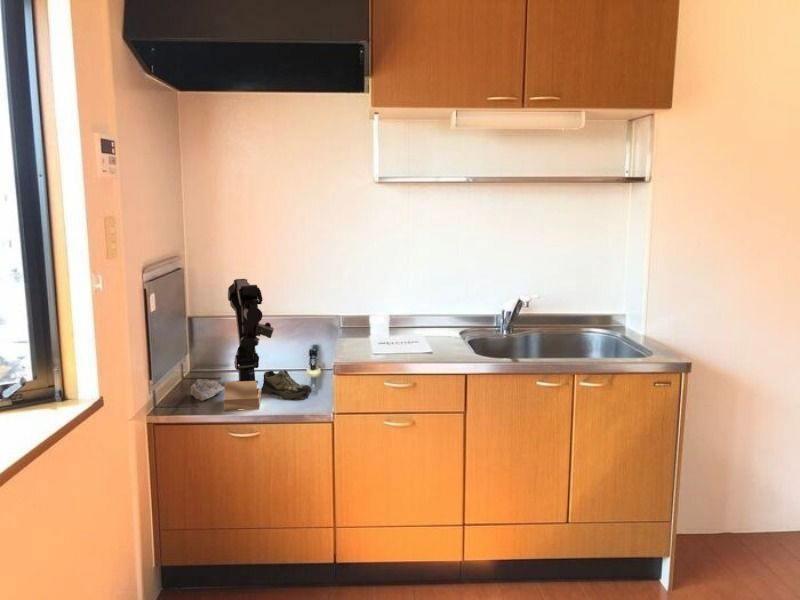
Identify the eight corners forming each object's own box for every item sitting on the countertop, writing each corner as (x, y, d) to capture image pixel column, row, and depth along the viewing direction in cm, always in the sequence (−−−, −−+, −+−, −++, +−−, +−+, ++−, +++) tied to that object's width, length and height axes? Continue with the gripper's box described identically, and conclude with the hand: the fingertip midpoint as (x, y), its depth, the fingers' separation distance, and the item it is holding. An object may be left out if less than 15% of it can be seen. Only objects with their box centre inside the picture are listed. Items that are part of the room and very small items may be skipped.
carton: (227, 400, 247) (227, 389, 246) (260, 398, 249) (260, 388, 248) (224, 411, 235) (223, 400, 235) (259, 409, 237) (258, 398, 236)
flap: (224, 382, 235) (224, 382, 234) (256, 380, 236) (256, 380, 236) (225, 399, 234) (225, 399, 234) (257, 398, 236) (256, 398, 236)
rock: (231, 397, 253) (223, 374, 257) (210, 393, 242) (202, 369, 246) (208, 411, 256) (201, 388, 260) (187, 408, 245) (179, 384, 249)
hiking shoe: (303, 402, 245) (302, 377, 243) (254, 395, 253) (253, 370, 252) (315, 396, 252) (315, 371, 251) (268, 388, 261) (267, 365, 259)
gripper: (271, 322, 243) (272, 364, 246) (272, 313, 261) (274, 352, 264) (239, 323, 241) (241, 366, 244) (243, 314, 260) (245, 353, 262)
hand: (251, 359), depth 254 cm, fingers closed
